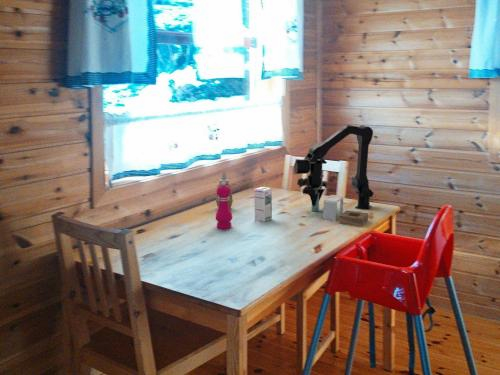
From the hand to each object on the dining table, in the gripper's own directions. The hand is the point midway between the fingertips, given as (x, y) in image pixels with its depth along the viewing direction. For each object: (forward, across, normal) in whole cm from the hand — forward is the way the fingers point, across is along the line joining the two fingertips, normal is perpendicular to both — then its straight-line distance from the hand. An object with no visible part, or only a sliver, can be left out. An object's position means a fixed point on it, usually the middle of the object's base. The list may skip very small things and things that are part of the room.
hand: (315, 205), depth 265 cm
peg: (+3, 0, 0) cm, 3 cm away
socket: (+3, +10, +22) cm, 24 cm away
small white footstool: (+3, +6, +11) cm, 13 cm away
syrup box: (+3, +24, -16) cm, 29 cm away
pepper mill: (+3, +42, -26) cm, 49 cm away
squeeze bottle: (+3, +16, -40) cm, 44 cm away
